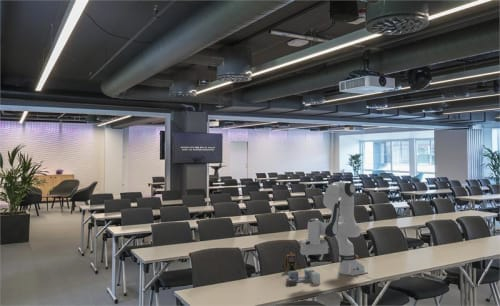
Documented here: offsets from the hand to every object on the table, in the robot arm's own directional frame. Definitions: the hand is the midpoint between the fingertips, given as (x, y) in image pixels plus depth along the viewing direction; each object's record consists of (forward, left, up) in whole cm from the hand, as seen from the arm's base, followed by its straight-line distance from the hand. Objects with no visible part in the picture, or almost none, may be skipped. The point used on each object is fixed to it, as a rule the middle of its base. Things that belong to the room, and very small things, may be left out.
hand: (314, 260), depth 282 cm
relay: (+18, -1, -16) cm, 24 cm away
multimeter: (+7, -34, -16) cm, 38 cm away
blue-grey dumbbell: (+8, -9, -16) cm, 20 cm away
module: (0, 0, -16) cm, 16 cm away
